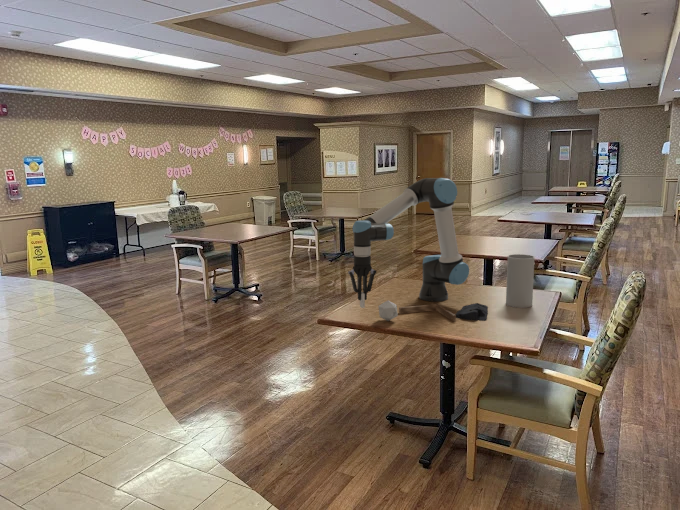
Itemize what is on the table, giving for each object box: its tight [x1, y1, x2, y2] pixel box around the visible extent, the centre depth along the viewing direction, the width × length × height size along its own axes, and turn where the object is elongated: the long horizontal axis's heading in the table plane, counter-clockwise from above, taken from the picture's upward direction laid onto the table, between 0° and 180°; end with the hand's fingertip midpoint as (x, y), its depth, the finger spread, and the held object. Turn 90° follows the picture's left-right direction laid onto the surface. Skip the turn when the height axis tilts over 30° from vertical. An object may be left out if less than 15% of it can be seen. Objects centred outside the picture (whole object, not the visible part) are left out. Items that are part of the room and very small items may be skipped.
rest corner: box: [398, 303, 457, 322], centre depth 243 cm, size 20×20×3 cm
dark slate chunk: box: [454, 302, 489, 322], centre depth 247 cm, size 15×22×5 cm
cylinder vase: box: [505, 253, 535, 309], centre depth 258 cm, size 12×12×25 cm
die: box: [378, 299, 399, 322], centre depth 238 cm, size 8×9×10 cm
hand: (362, 306), depth 235 cm, fingers closed
